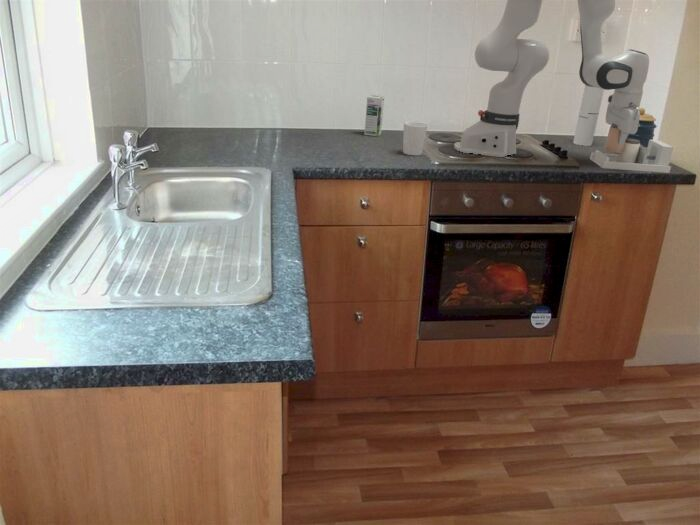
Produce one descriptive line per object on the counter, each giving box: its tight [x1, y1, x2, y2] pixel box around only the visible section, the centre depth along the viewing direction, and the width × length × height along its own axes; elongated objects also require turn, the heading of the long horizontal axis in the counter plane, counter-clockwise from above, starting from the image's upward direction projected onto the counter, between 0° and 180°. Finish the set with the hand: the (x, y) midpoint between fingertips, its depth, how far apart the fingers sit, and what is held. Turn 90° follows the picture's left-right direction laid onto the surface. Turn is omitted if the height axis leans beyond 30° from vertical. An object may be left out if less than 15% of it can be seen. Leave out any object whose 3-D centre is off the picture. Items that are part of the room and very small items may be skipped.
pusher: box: [636, 144, 656, 164], centre depth 222 cm, size 10×10×7 cm
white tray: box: [589, 139, 674, 174], centre depth 222 cm, size 23×13×9 cm, turn 89°
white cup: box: [402, 121, 428, 156], centre depth 218 cm, size 8×8×10 cm
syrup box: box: [363, 94, 385, 137], centre depth 242 cm, size 6×6×14 cm
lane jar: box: [617, 138, 640, 163], centre depth 223 cm, size 6×6×9 cm
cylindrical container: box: [572, 84, 605, 147], centre depth 252 cm, size 7×7×25 cm
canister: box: [617, 107, 658, 155], centre depth 241 cm, size 13×13×18 cm
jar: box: [604, 123, 626, 154], centre depth 219 cm, size 6×6×9 cm
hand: (616, 141), depth 220 cm, fingers closed on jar, 6 cm apart
